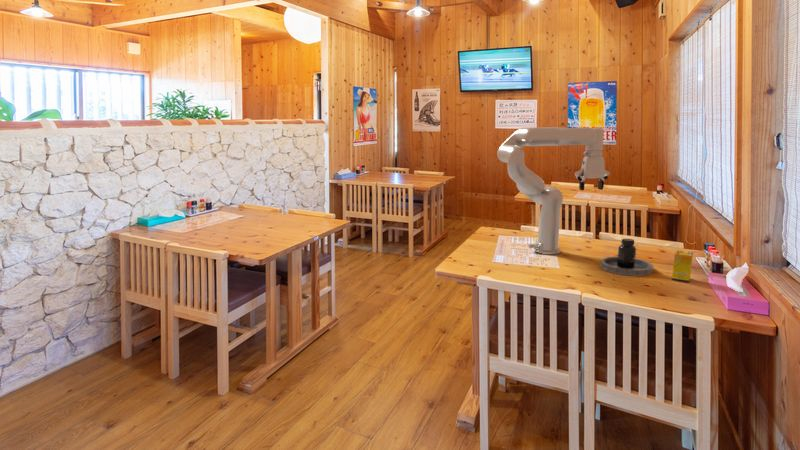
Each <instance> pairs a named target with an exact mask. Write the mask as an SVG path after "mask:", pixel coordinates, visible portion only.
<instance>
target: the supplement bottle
mask: <svg viewBox="0 0 800 450" xmlns="http://www.w3.org/2000/svg"><path fill="white" fill-rule="evenodd" d="M636 255H637V247H636V246H635V239H633V238H622V239H621V242H620V245H619V246H618V250H617V257H618V259H617V266H618V267H620V268H625V269H632V268H634V267H635V258H636Z"/></svg>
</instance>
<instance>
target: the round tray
mask: <svg viewBox="0 0 800 450" xmlns="http://www.w3.org/2000/svg"><path fill="white" fill-rule="evenodd" d="M617 259H618V256H606V257H603V258H602V259H600V261H599V262H600V264H599V266H600V268H601V269H602V270H603V271H605V272H607V273H611V274H615V275H619V276H626V277H644V276H649V275H651V274H653V271H654V265H653V264H652V263H651V262H649V261H647V260H645V259H641V258H636V257H635V267H634V268H632V269H625V268H620V267H618V266H617Z"/></svg>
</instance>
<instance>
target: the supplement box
mask: <svg viewBox="0 0 800 450" xmlns="http://www.w3.org/2000/svg"><path fill="white" fill-rule="evenodd" d="M693 255H694V253H693V251H685V250H675V253H674V259H673V268H672V276H671V281H676V282H681V283H682V282H683V283H687V284H688V283H690V280H691V272H692V264H693Z"/></svg>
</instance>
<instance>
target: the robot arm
mask: <svg viewBox="0 0 800 450" xmlns="http://www.w3.org/2000/svg"><path fill="white" fill-rule="evenodd" d="M604 135H605V130H604V129H603V128H601V127H560V126H556V127H555V126H553V127H552V126H550V127H549V126H547V127H541V126H539V127H535V126H534V127H520V128H518V129H517V130H516V131H514V132H513V133H512V134H511V135H510V136H509V137H508V138H507V139H506V140H505V141H504V142H503V143H501V145H500V146H499V148H498V149H497V151H496V152H497V153H496V154H497V158H498V160H499V161H500V162H502V163H506V165H507V174H508V176H509V178H510V179H511V180H512V181H513V182H515V184H516V188H517V190H518V191H519V192H520V193H521V194H523V195H524V196H525V197H527V198H528V199H530V200H531V201H532V202H534V203H535V204H538V205H541V207H540V210H539V213H538V231H537V233H538V234H537V240H536V241H535V242H534V243H528V245H527V247H528V248H529V249H534V252H535V251H536V252H535V253H537V252H538V254H541V253H542V255H558V254H559V255H560V253H562V249H561V248H559V235H560V217H561V209H562V204H563V201H564V196H563V193H562V191H561V190H560V189H558V188H556V187H553V186H548V185H546V183H545V181H544V179H542V177H540V176H539V175H537V174H536V173H535V172H534V171H532V170H531V169H529V167H527V166H526V165H525V152H524V150H523V148H524V146H525V147H550V146H551V147H554V146H555V147H556V146H557V147H558V146H559V147H561V146H572V145H573V146H577V145H578V146H579V145H581V146H583V145H584V146H585V151H583V152H582V155H584V157H583V159H582V163H581V169H579V170H578V171H575V173H574V176H575V178H576V179H577V181H578V183H579V185H578V189H579V191H585V182H584V181H586V179H598V180H599V181H598V186H597V189H598V190H603V189H604V187H605V186H604V184H605V181H606V180H607V179H608V177H609V176H610V174H611V173H610V171H609V170H606V166H605V162H606V161H605V158H604V156H603V149H604V138H605V137H604Z"/></svg>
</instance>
